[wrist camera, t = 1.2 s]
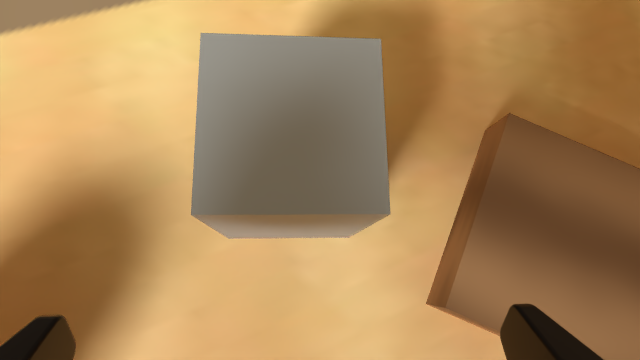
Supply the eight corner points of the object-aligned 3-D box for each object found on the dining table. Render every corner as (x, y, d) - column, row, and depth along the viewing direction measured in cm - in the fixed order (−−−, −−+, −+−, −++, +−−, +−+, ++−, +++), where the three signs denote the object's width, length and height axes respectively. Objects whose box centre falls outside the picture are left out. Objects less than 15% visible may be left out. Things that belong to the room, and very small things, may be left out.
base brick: (605, 382, 21) (657, 400, 18) (423, 303, 21) (445, 307, 18) (645, 203, 23) (697, 193, 20) (481, 133, 23) (509, 113, 20)
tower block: (348, 237, 21) (390, 214, 13) (228, 238, 20) (191, 214, 12) (345, 125, 22) (380, 38, 14) (232, 124, 22) (200, 32, 13)
